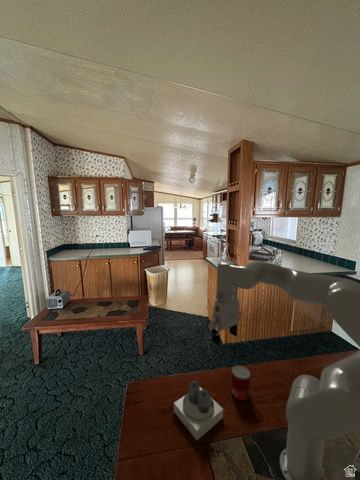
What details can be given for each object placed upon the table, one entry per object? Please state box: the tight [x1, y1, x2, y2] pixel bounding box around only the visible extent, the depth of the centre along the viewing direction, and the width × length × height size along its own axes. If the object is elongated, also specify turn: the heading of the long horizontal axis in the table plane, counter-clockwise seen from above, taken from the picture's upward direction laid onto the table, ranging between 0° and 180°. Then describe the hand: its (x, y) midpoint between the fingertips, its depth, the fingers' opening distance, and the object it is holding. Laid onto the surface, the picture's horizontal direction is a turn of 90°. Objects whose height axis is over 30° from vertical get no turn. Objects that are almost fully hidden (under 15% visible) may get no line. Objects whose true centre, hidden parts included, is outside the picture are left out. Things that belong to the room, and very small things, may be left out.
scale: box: [173, 386, 224, 441], centre depth 85 cm, size 14×14×4 cm
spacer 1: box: [188, 380, 201, 403], centre depth 86 cm, size 4×4×6 cm
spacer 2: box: [198, 389, 211, 413], centre depth 82 cm, size 4×4×6 cm
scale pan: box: [183, 391, 214, 420], centre depth 85 cm, size 12×12×1 cm
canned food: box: [230, 365, 251, 401], centre depth 95 cm, size 8×8×11 cm
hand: (224, 338), depth 79 cm, fingers open, 9 cm apart
